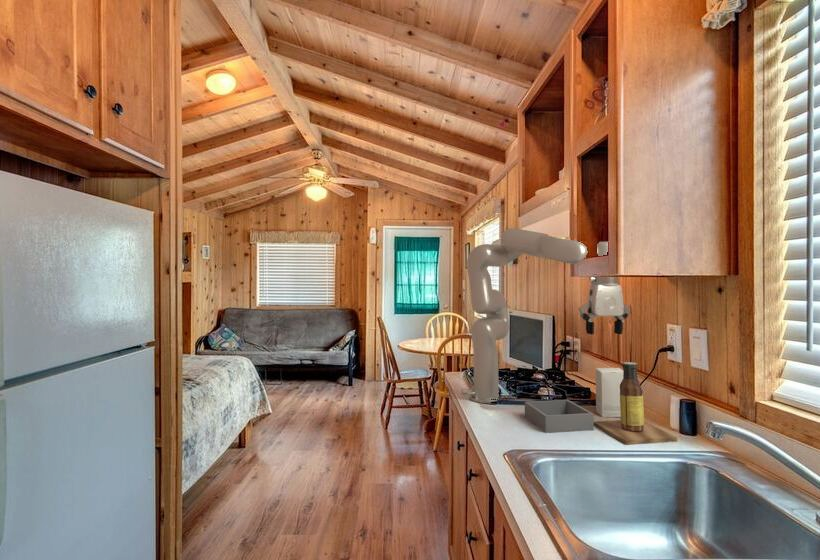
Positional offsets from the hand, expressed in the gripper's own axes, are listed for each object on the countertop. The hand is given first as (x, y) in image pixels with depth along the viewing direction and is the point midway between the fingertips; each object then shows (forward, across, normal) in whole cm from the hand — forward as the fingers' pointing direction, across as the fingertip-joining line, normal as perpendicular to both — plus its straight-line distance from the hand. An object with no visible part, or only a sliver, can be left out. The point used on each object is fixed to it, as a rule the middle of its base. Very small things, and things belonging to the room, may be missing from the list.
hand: (604, 333), depth 136 cm
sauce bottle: (+28, +4, -9) cm, 29 cm away
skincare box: (+29, +8, +8) cm, 31 cm away
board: (+29, +4, -9) cm, 30 cm away
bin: (+29, -14, +2) cm, 32 cm away
